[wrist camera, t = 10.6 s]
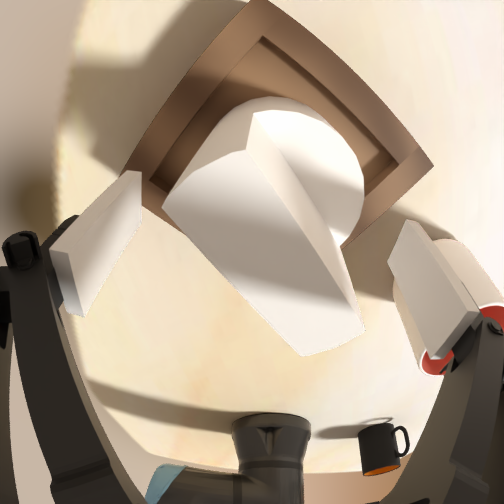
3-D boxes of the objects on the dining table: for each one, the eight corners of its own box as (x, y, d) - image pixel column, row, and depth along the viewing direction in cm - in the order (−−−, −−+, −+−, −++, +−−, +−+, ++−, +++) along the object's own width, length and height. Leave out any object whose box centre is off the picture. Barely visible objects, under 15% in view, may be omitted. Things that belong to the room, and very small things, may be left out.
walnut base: (280, 267, 29) (282, 298, 25) (135, 165, 23) (113, 186, 20) (410, 148, 21) (434, 165, 18) (259, 5, 16) (257, -7, 12)
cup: (382, 252, 27) (418, 332, 19) (467, 220, 25) (521, 285, 16) (393, 316, 32) (417, 388, 24) (465, 288, 30) (500, 351, 22)
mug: (413, 417, 52) (422, 458, 43) (372, 438, 58) (378, 475, 49) (393, 414, 49) (401, 458, 41) (350, 435, 55) (354, 476, 47)
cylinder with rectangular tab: (360, 182, 20) (432, 302, 10) (254, 239, 23) (247, 378, 14) (294, 70, 16) (340, 82, 6) (180, 145, 19) (97, 247, 10)
